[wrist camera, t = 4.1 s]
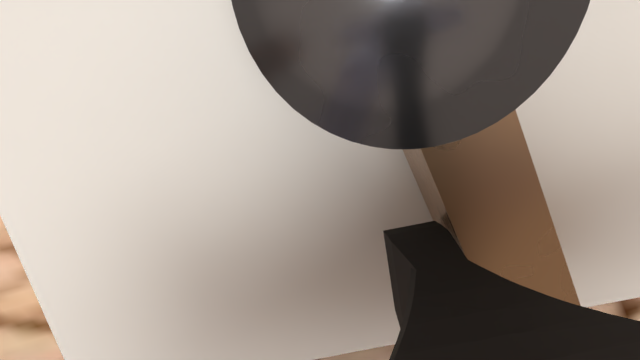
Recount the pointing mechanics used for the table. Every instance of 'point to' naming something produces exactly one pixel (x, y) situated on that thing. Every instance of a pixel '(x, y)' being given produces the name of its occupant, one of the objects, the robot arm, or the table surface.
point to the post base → (259, 184)
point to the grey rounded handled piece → (434, 105)
